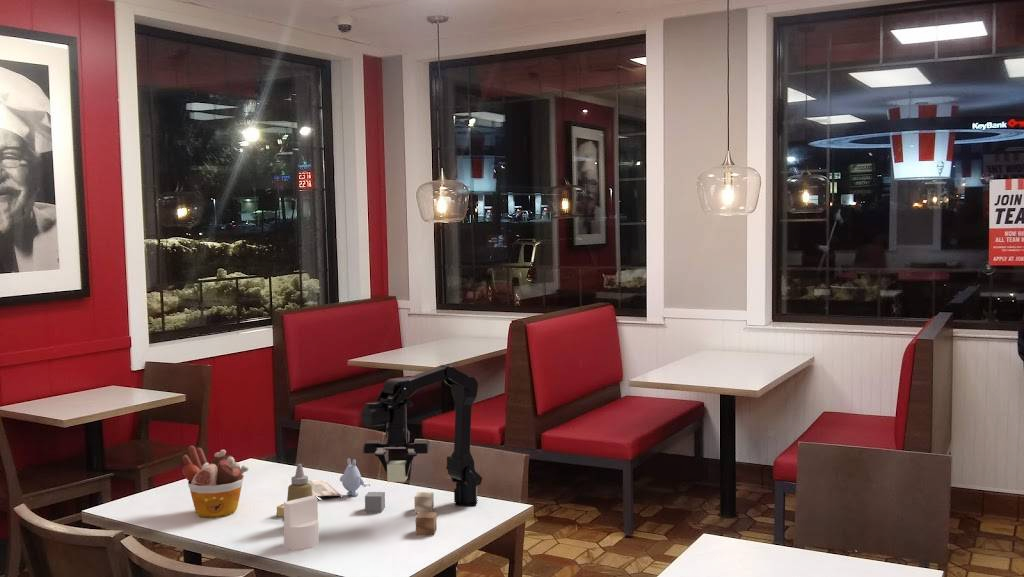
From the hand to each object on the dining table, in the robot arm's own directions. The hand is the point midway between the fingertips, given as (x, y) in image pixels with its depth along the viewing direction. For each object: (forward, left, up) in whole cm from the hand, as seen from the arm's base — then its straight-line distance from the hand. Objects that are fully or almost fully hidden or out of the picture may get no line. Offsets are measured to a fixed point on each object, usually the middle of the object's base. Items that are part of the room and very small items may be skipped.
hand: (397, 476), depth 260 cm
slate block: (+9, -10, -13) cm, 19 cm away
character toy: (+33, -2, -14) cm, 35 cm away
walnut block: (-10, +11, -13) cm, 20 cm away
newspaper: (+33, -30, -14) cm, 46 cm away
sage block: (0, 0, -1) cm, 1 cm away
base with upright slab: (+22, +22, -13) cm, 34 cm away
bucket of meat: (+57, -6, -13) cm, 59 cm away
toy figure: (+20, -26, -13) cm, 35 cm away
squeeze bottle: (+27, +7, -13) cm, 31 cm away
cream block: (-6, -10, -13) cm, 18 cm away
